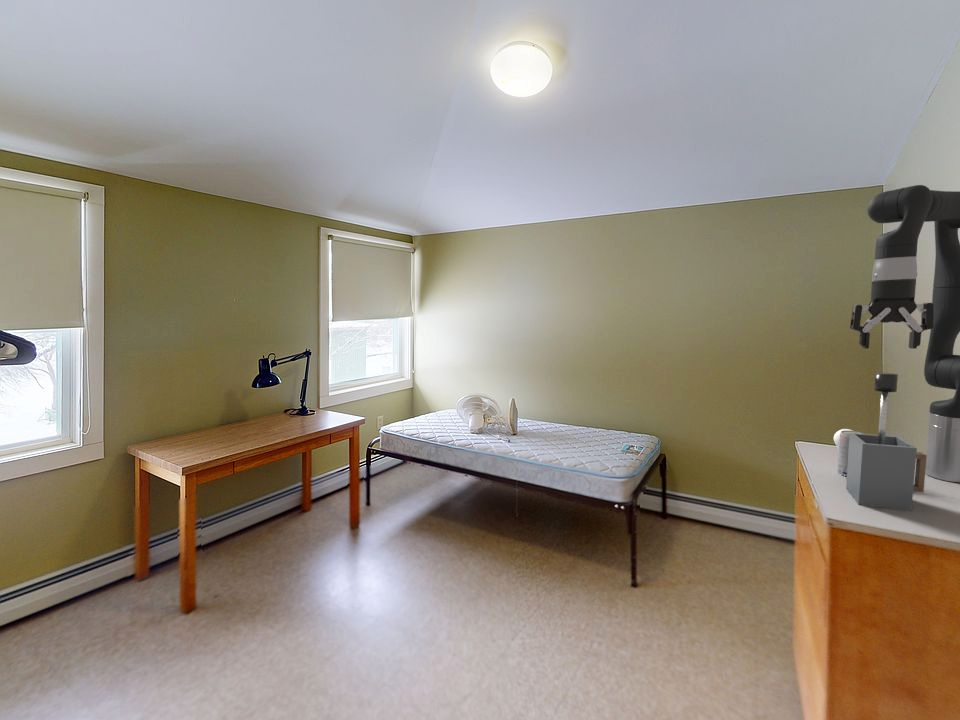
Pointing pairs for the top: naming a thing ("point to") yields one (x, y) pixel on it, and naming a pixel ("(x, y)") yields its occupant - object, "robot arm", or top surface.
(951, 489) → the top surface
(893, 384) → the plunger
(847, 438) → the energy drink
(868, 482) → the grey square mug
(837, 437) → the lightbulb
